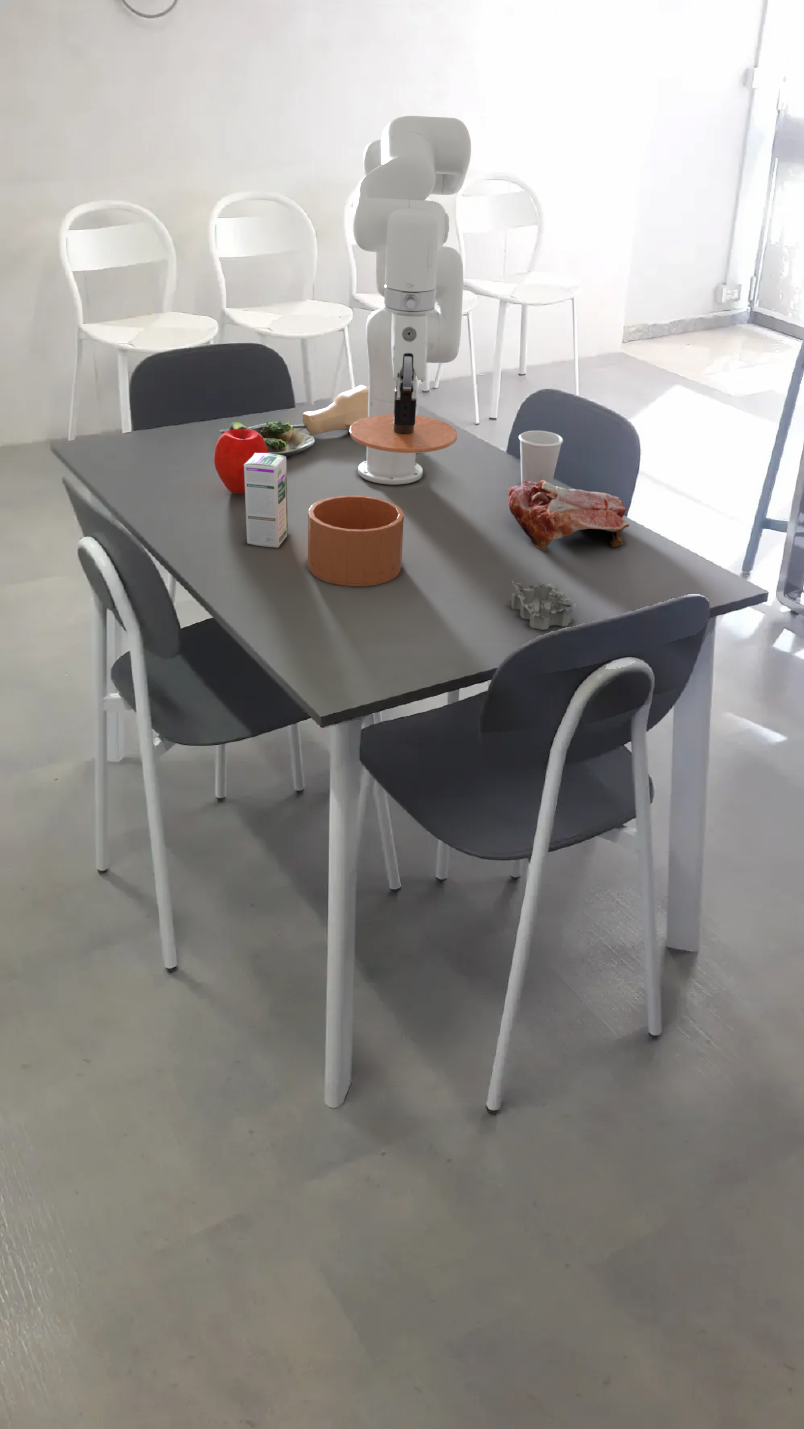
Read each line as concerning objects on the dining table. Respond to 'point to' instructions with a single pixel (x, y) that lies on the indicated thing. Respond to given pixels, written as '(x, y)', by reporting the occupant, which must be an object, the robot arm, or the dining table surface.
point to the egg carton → (542, 605)
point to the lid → (403, 434)
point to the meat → (564, 512)
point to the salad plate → (280, 437)
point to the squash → (339, 412)
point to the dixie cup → (539, 455)
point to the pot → (355, 540)
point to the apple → (236, 456)
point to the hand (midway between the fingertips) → (404, 419)
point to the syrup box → (266, 499)
